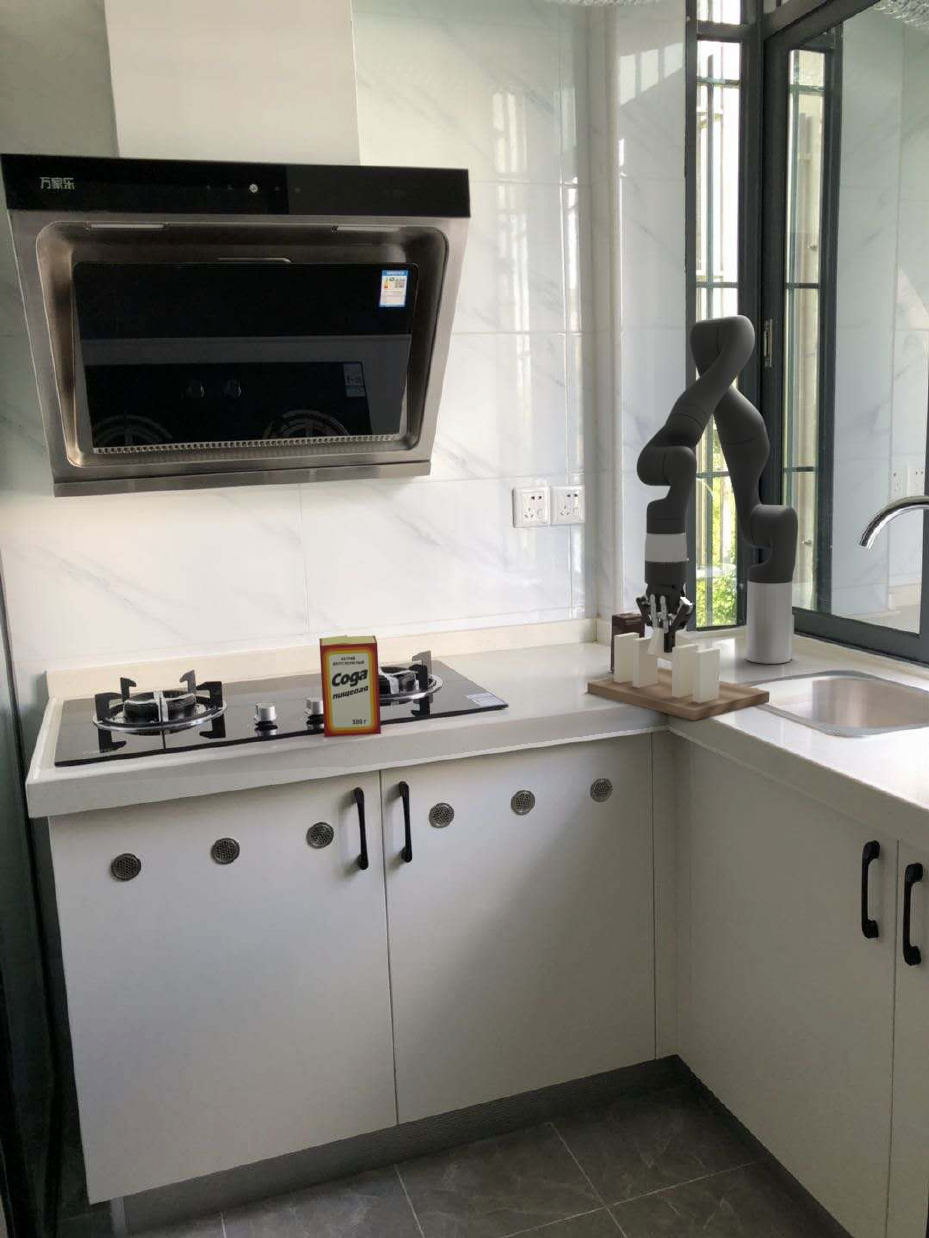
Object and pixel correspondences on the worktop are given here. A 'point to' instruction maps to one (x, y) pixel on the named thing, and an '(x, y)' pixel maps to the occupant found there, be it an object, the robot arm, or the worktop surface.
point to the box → (626, 628)
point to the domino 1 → (624, 657)
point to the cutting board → (684, 706)
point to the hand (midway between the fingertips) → (664, 651)
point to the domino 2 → (644, 664)
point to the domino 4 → (683, 670)
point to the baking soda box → (350, 685)
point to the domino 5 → (706, 675)
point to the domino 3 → (658, 644)
